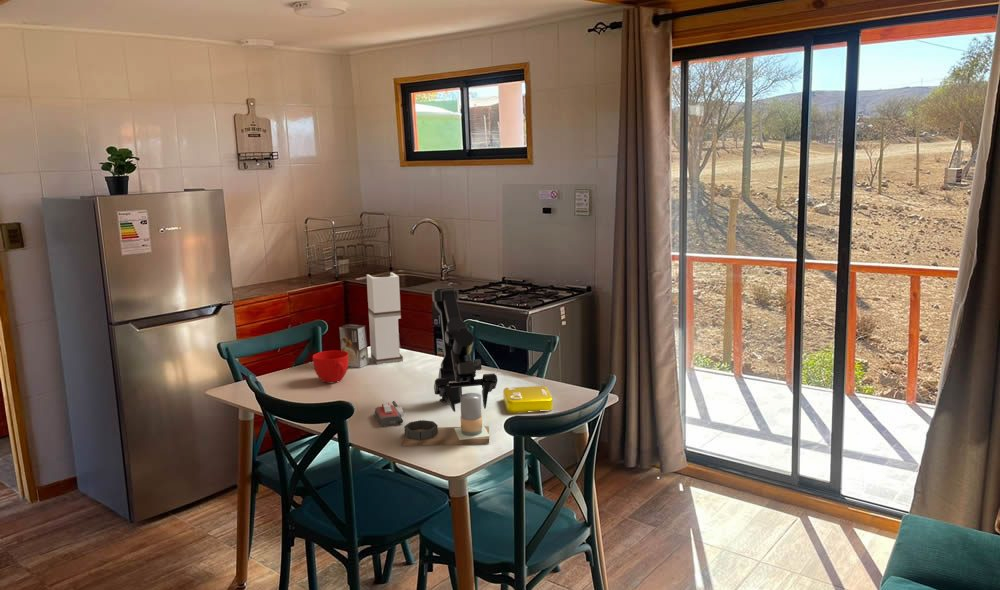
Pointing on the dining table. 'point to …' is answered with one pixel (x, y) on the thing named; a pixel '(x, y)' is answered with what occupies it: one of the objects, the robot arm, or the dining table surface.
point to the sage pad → (462, 437)
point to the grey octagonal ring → (421, 435)
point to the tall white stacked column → (384, 318)
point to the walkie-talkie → (389, 414)
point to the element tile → (527, 399)
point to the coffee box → (354, 344)
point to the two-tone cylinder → (471, 414)
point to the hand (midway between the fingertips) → (469, 409)
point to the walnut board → (444, 438)
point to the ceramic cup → (331, 365)
